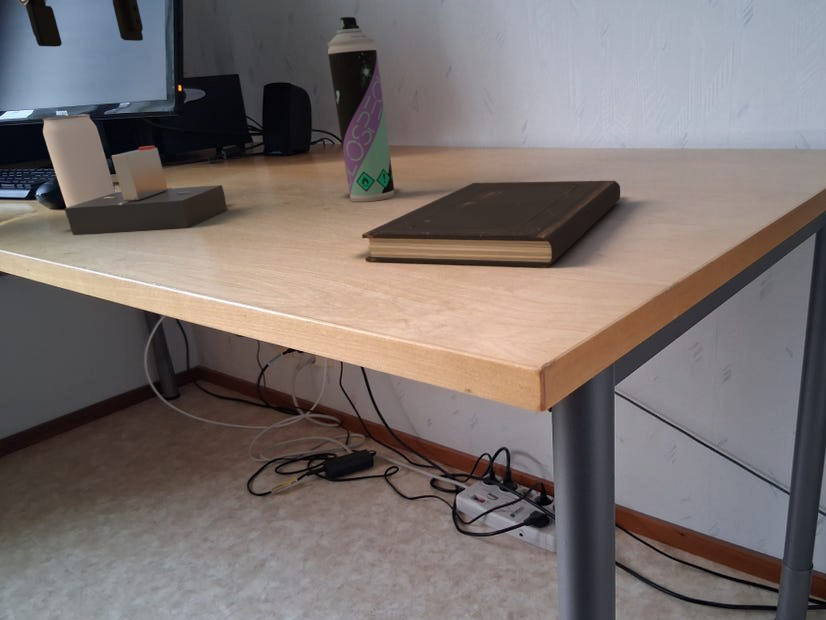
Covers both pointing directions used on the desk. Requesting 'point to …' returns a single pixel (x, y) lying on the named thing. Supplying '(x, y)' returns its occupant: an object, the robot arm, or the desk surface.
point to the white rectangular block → (139, 173)
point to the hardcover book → (495, 224)
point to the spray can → (360, 113)
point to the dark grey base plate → (147, 211)
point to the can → (77, 158)
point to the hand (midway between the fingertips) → (91, 43)
